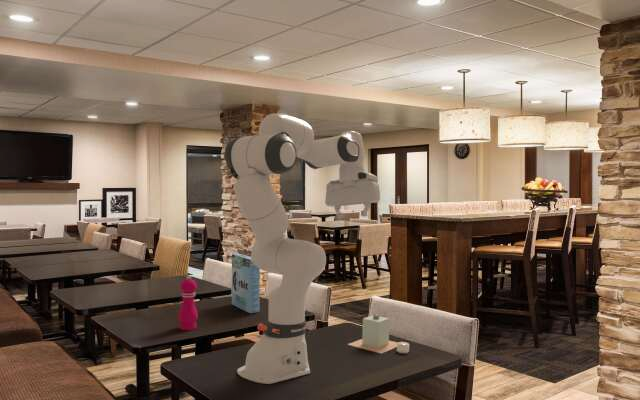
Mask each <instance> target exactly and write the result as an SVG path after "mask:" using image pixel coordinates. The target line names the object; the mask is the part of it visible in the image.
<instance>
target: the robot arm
mask: <svg viewBox="0 0 640 400" xmlns="http://www.w3.org/2000/svg"><path fill="white" fill-rule="evenodd" d="M297 159H298V160H300V161H302V162H304V164H306V165H307V166H308V167H309V168H311V169H313V170H318V169H322V168H326V167H331V166H333V167H334V166H337V165H339V169H338V174H339V175H338V177H339V178H338V179H336V180H330V181H329V182H328V183H327V184H326V188H325V189H326V192H325V198H324V199H325V200H324V201H325V202H324V203H325V205H326V206H327V207H331V208H333V207H334V208H333V209H334V210H335V212H336V213H337V214H336V215H337V219H344V213H343V212H341V208H342V207H343V206H352V205H362V204H363V206H364V208H363V210H361V211H360V216H361V217H363V218H364V217H368V211H369V209H370V207H371V204H373V203H374V204H375V203H378V202H379V201H380V199H381V191H380V190H381V189H380V185H379V183H378V176H377V175H375V174H373V173H369V172H367V171H365V166H364V159H365V147H364V140H363V136H362V135H361V133H359V132H358V131H353V130H347V131H343V132H342V133H341V134H340V135H336V136H332V137H331V136H330V137H326V138H320V139H315V133H314V130H313V127H312V125H310V124H309V123H308V122H306V120H303V119H301V118H298V117H296V116H292V115H289V114H288V115H287V114H284V113H283V114H282V113H270V114H268V115H266V116H265V117H264V118H262V120H261V121H260V124H259V127H258V134H256V135H255V134H254V135H248V136H239V137H235V138H232V139H231V140H230V141H228V142H227V144H226V146H225V149H224V160H225V163H226V167H227V168H228V170H229V173H230V174H231V176H232V177H233V178H234V179H236V181H235V183H234V187H233V188H234V189H233V190H234V193H235V197H236V201H237V202H238V205H239V208H240V210H241V213H242V214H243V216H244V218H245V220H246V222H247V224H248V226H249V227H250V229H251V231H252V234H253V236H254V239H255V240H254V241H255V242H254V244H253V245H252V247H251V252H250V256H251V259H252V262H253V264H254V265H255V266H256V267H257V268H260V270H262V271H264V272H267V273H269V274H276V275H277V274H278V275H282V277H281V278H282V279H281V283H280V285H279V286H278V287H276V288H275V289H273V290H272V291H271V292H270V294H269V296H268V307H267V308H268V312H267V313H268V315H267V317H268V318H267V320H266V322H265V324H264V323H259V324H258V325H257V327H256V328H257V330H258V331H261V332H263V334H262V335H261V337H259V339H258V340H257V341H256V342H255V344H253V346H251V348H249V350H248V351H247V353H246V358H245V364H244V365H243V366H241V367H239V368H237V369H236V370H237V371H236V372H237V375H239V376H240V377H242V378H243V379H246V380H248V381H251V382H255V383H258V384H266V385H267V384H268V385H271V384H275V383H278V382H283V381H286V380H291V379H293V378H297V377H301V376H305V375H308V374H310V373H311V369H310V365H309V360H308V359H309V358H308V349H307V348H308V346H307V341H306V332H307V320H306V315H305V314H306V313H305V312H306V299H307V294H308V291H309V288H310V286H311V284H312V282H313V281H314V280H315V279H316V278H317V277H319V276H320V275H321V274H322V273H323V271H324V270H325V268H326V265H327V256H326V255H327V254H326V251H325V250H324V248H323V247H322V245H320V244H316V243H314V242H311V241H309V240H303V239H294V238H289V237H287V236H286V234H285V233H286V232H287V230H288V229H289V224H290V218H289V216H288V213H287V212H286V209H285V207H284V205H283V203H282V201H281V200H280V198H279V196H278V194H277V192H276V191H275V189H274V187H273V186H272V183H271V178H270V177H271V176H270V175H274V174H275V175H282V174H285V173H288V172H290V171H291V170H292V169H293V168H294V166H295V163H296V161H297ZM341 206H342V207H341Z"/></svg>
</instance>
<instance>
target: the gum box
mask: <svg viewBox="0 0 640 400" xmlns="http://www.w3.org/2000/svg"><path fill="white" fill-rule="evenodd" d="M260 272H261V269H260V268H257V267H256V266H255V265H254V264H253V262H252V259H251V255H248V254H245V253H244V254H243V253H242V252H240V253H239V252H237V253H231V305H233V306H235V307H237V308H238V309H241V310H242V311H244V312H247V313H248V314H255V313H260V312H261V311H260V304H261V303H260V302H261V301H260V300H261V298H260V297H261V296H260V294H261V293H260V292H261V290H260V289H261V288H260V287H261V283H260V281H261V278H260V275H261V274H260Z"/></svg>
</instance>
